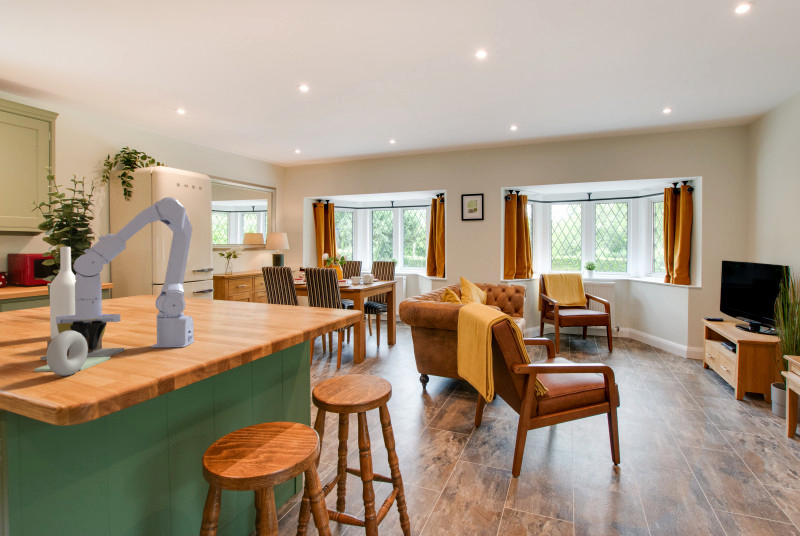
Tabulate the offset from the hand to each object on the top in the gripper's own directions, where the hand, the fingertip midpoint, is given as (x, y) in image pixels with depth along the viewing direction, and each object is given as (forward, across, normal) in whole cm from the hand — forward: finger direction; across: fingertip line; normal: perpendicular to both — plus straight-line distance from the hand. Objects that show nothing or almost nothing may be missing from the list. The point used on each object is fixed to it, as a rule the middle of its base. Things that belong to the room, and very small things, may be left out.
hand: (89, 349), depth 109 cm
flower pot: (+2, +8, -12) cm, 15 cm away
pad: (+2, -2, +11) cm, 11 cm away
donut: (+2, -6, +20) cm, 21 cm away
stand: (+2, +1, 0) cm, 2 cm away
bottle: (+2, +20, -28) cm, 35 cm away
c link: (+1, +3, 0) cm, 4 cm away
